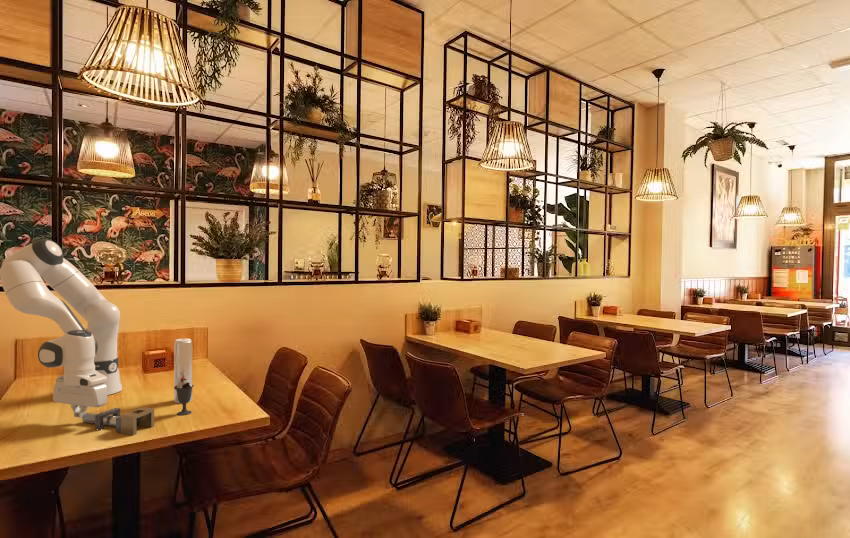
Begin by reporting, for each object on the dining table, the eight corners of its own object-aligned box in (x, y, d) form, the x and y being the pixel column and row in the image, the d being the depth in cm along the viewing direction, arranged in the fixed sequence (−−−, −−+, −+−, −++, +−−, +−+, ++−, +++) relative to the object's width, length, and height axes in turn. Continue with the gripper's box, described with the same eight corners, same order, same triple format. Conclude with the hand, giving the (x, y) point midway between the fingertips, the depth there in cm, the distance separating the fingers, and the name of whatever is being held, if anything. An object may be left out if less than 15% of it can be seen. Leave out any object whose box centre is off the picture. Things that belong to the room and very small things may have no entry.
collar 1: (95, 429, 155) (95, 415, 155) (115, 422, 162) (115, 407, 162) (100, 430, 154) (100, 415, 154) (120, 422, 162) (120, 408, 162)
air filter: (184, 404, 183) (184, 341, 182) (170, 402, 184) (170, 340, 183) (196, 399, 189) (196, 338, 188) (182, 397, 190) (182, 337, 190)
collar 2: (115, 432, 153) (115, 417, 153) (135, 424, 160) (135, 410, 160) (120, 433, 152) (120, 418, 152) (140, 425, 160) (140, 410, 160)
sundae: (178, 410, 175) (178, 371, 175) (197, 410, 176) (197, 371, 175) (170, 416, 169) (170, 375, 168) (189, 416, 169) (189, 375, 169)
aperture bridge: (120, 433, 152) (120, 415, 152) (142, 424, 160) (142, 407, 160) (133, 435, 151) (133, 416, 151) (154, 426, 159) (154, 408, 159)
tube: (80, 421, 160) (85, 411, 161) (87, 423, 162) (92, 414, 164) (122, 426, 155) (127, 416, 157) (129, 428, 158) (134, 419, 160)
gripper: (47, 377, 160) (47, 416, 160) (94, 382, 155) (93, 423, 155) (65, 372, 166) (65, 411, 167) (111, 377, 161) (110, 416, 161)
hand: (79, 416), depth 161 cm, fingers closed
